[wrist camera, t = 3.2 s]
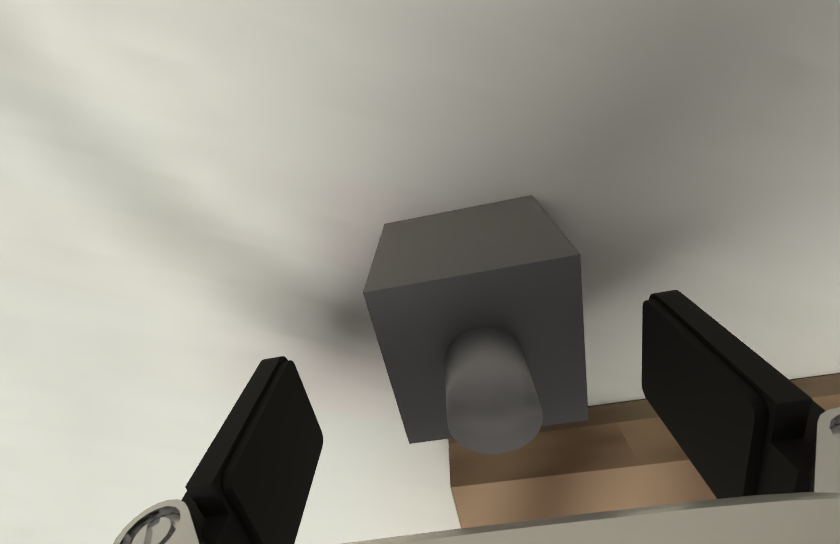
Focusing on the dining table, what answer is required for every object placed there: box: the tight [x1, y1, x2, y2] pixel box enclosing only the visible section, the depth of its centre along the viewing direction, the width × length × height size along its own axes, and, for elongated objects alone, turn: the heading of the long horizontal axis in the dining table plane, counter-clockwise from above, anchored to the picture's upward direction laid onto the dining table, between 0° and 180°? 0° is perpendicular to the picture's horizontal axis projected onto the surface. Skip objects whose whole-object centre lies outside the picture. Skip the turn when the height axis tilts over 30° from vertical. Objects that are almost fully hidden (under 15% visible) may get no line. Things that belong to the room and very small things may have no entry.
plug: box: [363, 195, 588, 454], centre depth 12 cm, size 5×5×7 cm
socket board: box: [449, 374, 840, 529], centre depth 18 cm, size 20×14×3 cm
